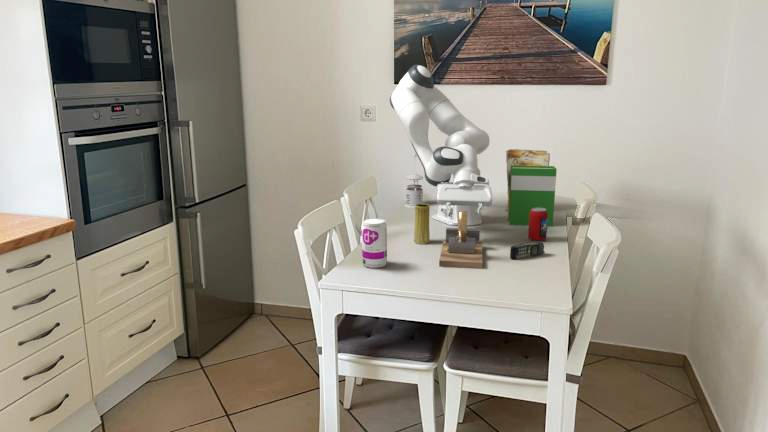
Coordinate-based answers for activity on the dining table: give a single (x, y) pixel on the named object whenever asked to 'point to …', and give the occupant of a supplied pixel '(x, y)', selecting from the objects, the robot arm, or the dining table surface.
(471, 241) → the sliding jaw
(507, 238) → the dining table surface
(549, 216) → the hardback book
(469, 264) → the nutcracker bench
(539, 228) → the beverage can
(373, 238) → the supplement can
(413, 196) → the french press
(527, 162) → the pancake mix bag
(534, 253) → the mobile phone
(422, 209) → the vase
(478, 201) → the robot arm
